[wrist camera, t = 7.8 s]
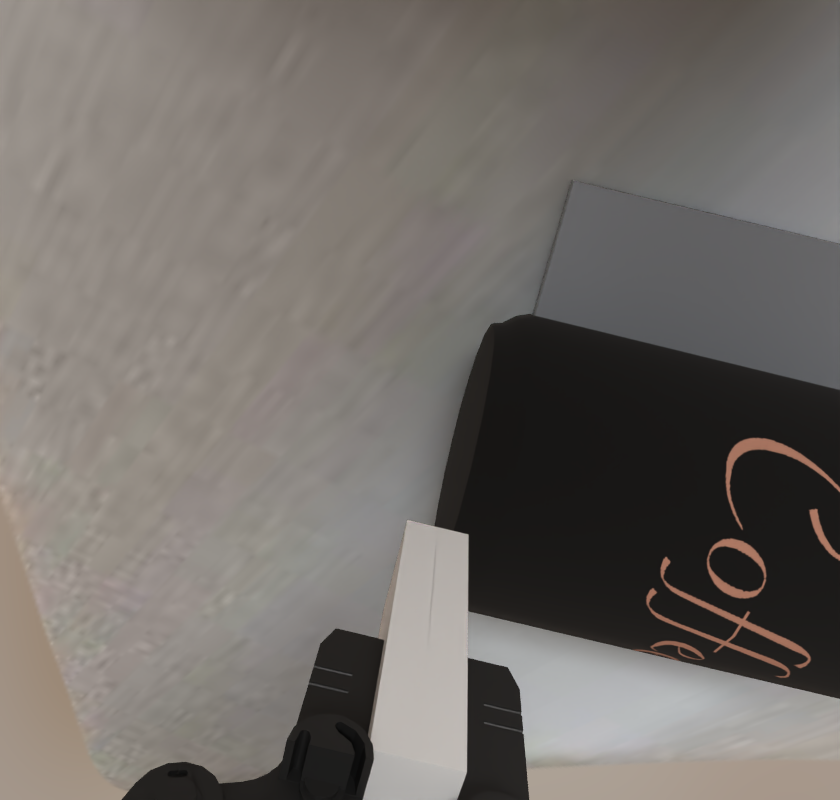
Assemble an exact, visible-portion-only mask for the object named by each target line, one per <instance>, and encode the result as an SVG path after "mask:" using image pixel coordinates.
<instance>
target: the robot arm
mask: <svg viewBox="0 0 840 800" xmlns="http://www.w3.org/2000/svg"><path fill="white" fill-rule="evenodd" d="M468 538H469V535H468V534H464V533H460V532H456V531H452V530H447V529H443V528H439V527H435V526H431V525H427V524H422V523H418V522H414V521H410V520H407V522H406V526H405V530H404V534H403V538H402V541H401V545H400V549H399V553H398V557H397V560H396V564H395V568H394V572H393V576H392V579H391V583H390V587H389V591H388V595H387V599H386V602H385V606H384V610H383V615H382V620H381V626H380V631H379V636H378V638H374V637H370V636H366V635H361V634H357V633H353V632H349V631H344V630H340V629H335V630H334V631H333V632H332V633H331V634H330V635H329V636H328V637H327V638H326V639H325V640H324V641H323V642H322V643H321V644H320V647H319V651H318V654H317V657H316V661H315V664H314V668H313V671H312V674H311V678H310V681H309V685H308V688H307V691H306V695H305V698H304V701H303V705H302V708H301V711H300V715H299V718H298V722H297V725H296V726H295V727H294V728H293V730H292V732H291V733H290V735H289V737H288V739H287V742H286V747H285V751H284V756H283V760H282V762H281V763H280V764H279V765H278V767H276V768H275V769H274V770H272V771H271V772H269V773H268V774H266V775H264V776H262V777H259V778H257V779H254V780H249V781H244V782H234V783H222V784H219V783H218V781H217V779H216V777H215V776H214V775H213V774H212V773H210V772H209V771H208V770H206V769H205V768H204V767H202V766H199V765H195V764H191V763H188V762H179V763H167V764H165V765H163V766H160V767H158V768H155V769H153V770H150V771H149V772H148V773H147V774H146V775H144V776H143V777H142V778H141V779H140V780H139V781H137V782H136V783H135V784H134V786H133V787H132V788H131V789H130V790H129V792H128V793H127V794H126V795H125V796H124V798H123V799H122V800H529V792H528V781H527V770H526V758H525V747H524V735H523V734H522V732H523V724H522V716H521V701H520V689H519V687H518V686H517V684H516V682H515V680H514V678H513V676H512V674H511V673H510V671H509V669H508V667H504V666H499V665H495V664H491V663H487V662H482V661H478V660H474V659H470V658H468Z"/></svg>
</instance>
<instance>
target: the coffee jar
mask: <svg viewBox="0 0 840 800" xmlns="http://www.w3.org/2000/svg"><path fill="white" fill-rule="evenodd" d="M435 527H439V528H443V529H447V530H452V531H456V532H460V533H464V534H468V535H469V538H468V611H470V612H474V613H478V614H482V615H487V616H491V617H495V618H499V619H504V620H508V621H512V622H516V623H521V624H525V625H529V626H533V627H538V628H542V629H546V630H550V631H555V632H559V633H563V634H567V635H572V636H576V637H580V638H584V639H589V640H593V641H597V642H601V643H606V644H610V645H614V646H618V647H622V648H627V649H631V650H635V651H639V652H644V653H648V654H652V655H656V656H661V657H665V658H669V659H673V660H678V661H682V662H686V663H690V664H695V665H699V666H703V667H707V668H712V669H716V670H720V671H724V672H729V673H733V674H737V675H741V676H746V677H750V678H754V679H758V680H763V681H767V682H771V683H775V684H779V685H784V686H788V687H792V688H796V689H801V690H805V691H809V692H813V693H818V694H822V695H826V696H830V697H835V698H839V699H840V390H839V389H834V388H830V387H826V386H822V385H818V384H814V383H810V382H806V381H802V380H798V379H793V378H789V377H785V376H781V375H777V374H773V373H769V372H765V371H761V370H757V369H752V368H748V367H744V366H740V365H736V364H732V363H728V362H724V361H720V360H716V359H711V358H707V357H703V356H699V355H695V354H691V353H687V352H683V351H679V350H675V349H670V348H666V347H662V346H658V345H654V344H650V343H646V342H642V341H638V340H633V339H629V338H625V337H621V336H617V335H613V334H609V333H605V332H601V331H597V330H592V329H588V328H584V327H580V326H576V325H572V324H568V323H564V322H560V321H556V320H551V319H547V318H543V317H539V316H535V315H531V314H527V315H520V316H515V317H513V318H511V319H509V320H507V321H505V322H503V323H493V324H491V325H490V327H489V328H488V330H487V331H486V333H485V335H484V337H483V340H482V342H481V345H480V347H479V350H478V352H477V355H476V358H475V361H474V364H473V367H472V370H471V374H470V377H469V380H468V383H467V387H466V390H465V394H464V397H463V401H462V404H461V408H460V412H459V416H458V420H457V424H456V428H455V431H454V435H453V439H452V444H451V448H450V452H449V457H448V461H447V465H446V470H445V474H444V479H443V484H442V489H441V494H440V499H439V504H438V509H437V515H436V521H435Z"/></svg>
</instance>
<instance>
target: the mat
mask: <svg viewBox="0 0 840 800" xmlns="http://www.w3.org/2000/svg"><path fill="white" fill-rule="evenodd" d="M533 315H535V316H539V317H543V318H547V319H551V320H556V321H560V322H564V323H568V324H572V325H576V326H580V327H584V328H588V329H592V330H597V331H601V332H605V333H609V334H613V335H617V336H621V337H625V338H629V339H633V340H638V341H642V342H646V343H650V344H654V345H658V346H662V347H666V348H670V349H675V350H679V351H683V352H687V353H691V354H695V355H699V356H703V357H707V358H711V359H716V360H720V361H724V362H728V363H732V364H736V365H740V366H744V367H748V368H752V369H757V370H761V371H765V372H769V373H773V374H777V375H781V376H785V377H789V378H793V379H798V380H802V381H806V382H810V383H814V384H818V385H822V386H826V387H830V388H834V389H839V390H840V244H838V243H833V242H829V241H825V240H821V239H817V238H813V237H808V236H804V235H800V234H796V233H792V232H787V231H783V230H779V229H775V228H771V227H766V226H762V225H758V224H754V223H750V222H745V221H741V220H737V219H733V218H729V217H725V216H720V215H716V214H712V213H708V212H704V211H699V210H695V209H691V208H687V207H683V206H678V205H674V204H670V203H666V202H662V201H657V200H653V199H649V198H645V197H641V196H636V195H632V194H628V193H624V192H620V191H616V190H611V189H607V188H603V187H599V186H595V185H590V184H586V183H582V182H578V181H574V180H572V182H571V185H570V189H569V192H568V195H567V199H566V202H565V206H564V209H563V213H562V216H561V220H560V223H559V226H558V230H557V233H556V237H555V240H554V244H553V247H552V251H551V254H550V257H549V261H548V264H547V268H546V271H545V275H544V278H543V282H542V285H541V288H540V292H539V295H538V299H537V302H536V306H535V309H534V313H533Z"/></svg>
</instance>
